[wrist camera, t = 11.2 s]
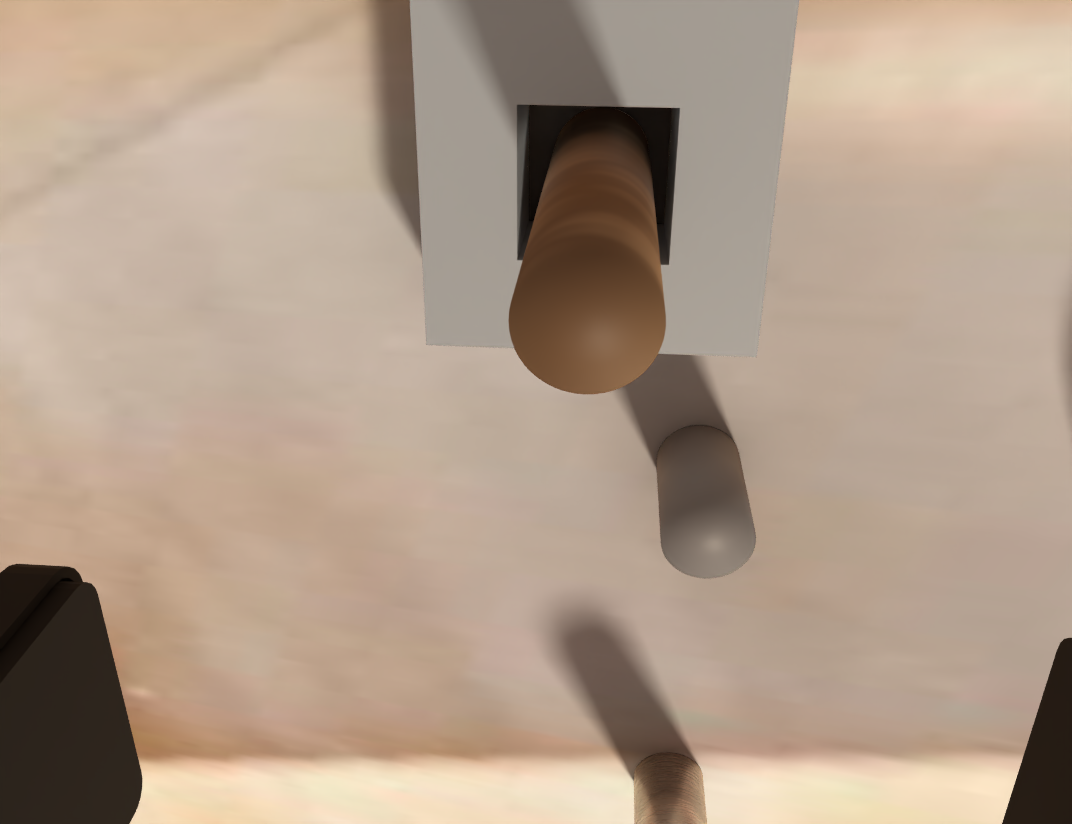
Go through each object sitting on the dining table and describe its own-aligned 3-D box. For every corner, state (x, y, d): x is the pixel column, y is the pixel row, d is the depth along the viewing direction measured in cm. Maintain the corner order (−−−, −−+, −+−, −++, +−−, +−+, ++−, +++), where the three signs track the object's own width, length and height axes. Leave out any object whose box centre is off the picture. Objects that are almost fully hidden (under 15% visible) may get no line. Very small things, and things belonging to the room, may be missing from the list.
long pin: (652, 107, 30) (671, 249, 18) (646, 204, 32) (660, 397, 19) (554, 105, 31) (507, 245, 18) (553, 201, 32) (508, 391, 20)
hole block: (777, -16, 29) (799, -4, 25) (742, 308, 33) (756, 357, 30) (435, -20, 29) (409, -9, 26) (447, 298, 34) (426, 345, 30)
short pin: (743, 427, 35) (760, 502, 31) (735, 498, 37) (750, 580, 32) (659, 423, 35) (663, 498, 31) (654, 494, 37) (657, 576, 32)
